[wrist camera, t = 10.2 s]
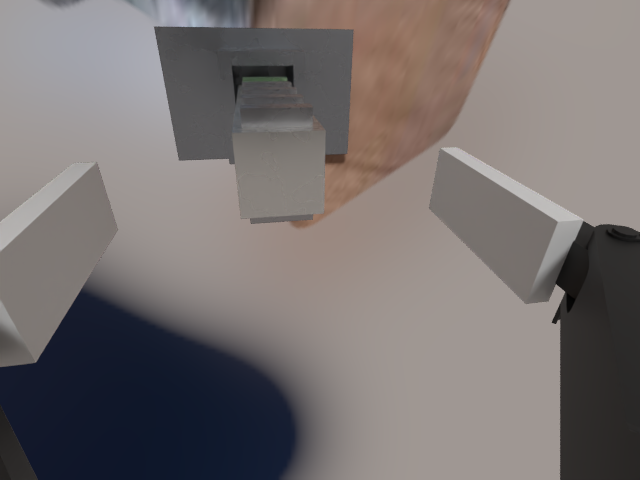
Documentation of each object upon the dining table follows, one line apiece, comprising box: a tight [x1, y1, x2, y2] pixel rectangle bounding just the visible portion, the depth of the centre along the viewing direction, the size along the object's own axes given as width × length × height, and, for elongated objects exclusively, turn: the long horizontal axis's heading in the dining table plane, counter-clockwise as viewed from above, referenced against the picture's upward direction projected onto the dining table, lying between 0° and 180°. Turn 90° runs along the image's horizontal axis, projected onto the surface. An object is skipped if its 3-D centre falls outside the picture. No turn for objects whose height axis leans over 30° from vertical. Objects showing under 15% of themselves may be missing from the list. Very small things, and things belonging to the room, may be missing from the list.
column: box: [232, 77, 326, 224], centre depth 23 cm, size 4×6×16 cm
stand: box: [154, 27, 353, 164], centre depth 33 cm, size 18×12×10 cm, turn 89°
